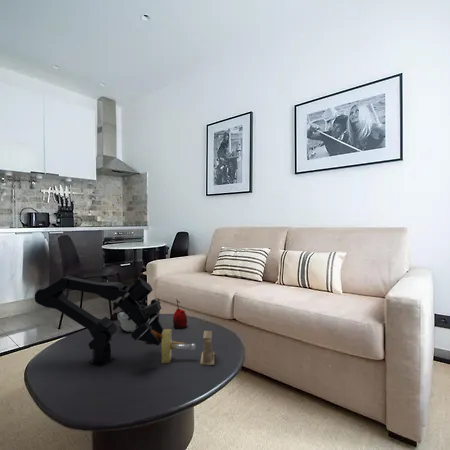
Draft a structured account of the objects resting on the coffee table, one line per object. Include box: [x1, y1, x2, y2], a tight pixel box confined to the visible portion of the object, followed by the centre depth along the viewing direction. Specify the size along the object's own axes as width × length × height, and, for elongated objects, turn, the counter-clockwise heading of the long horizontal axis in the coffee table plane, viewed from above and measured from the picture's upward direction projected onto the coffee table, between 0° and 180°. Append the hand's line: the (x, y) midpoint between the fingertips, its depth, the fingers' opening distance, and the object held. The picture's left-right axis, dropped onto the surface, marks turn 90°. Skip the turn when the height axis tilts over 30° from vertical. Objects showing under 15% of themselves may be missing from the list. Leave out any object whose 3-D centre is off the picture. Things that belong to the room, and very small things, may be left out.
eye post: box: [199, 330, 216, 366], centre depth 105 cm, size 5×9×10 cm, turn 1°
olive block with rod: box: [161, 328, 197, 364], centre depth 105 cm, size 13×4×11 cm, turn 91°
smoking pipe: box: [147, 330, 186, 344], centre depth 121 cm, size 7×18×6 cm, turn 76°
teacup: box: [116, 311, 136, 333], centre depth 137 cm, size 14×11×8 cm
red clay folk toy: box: [172, 298, 188, 329], centre depth 139 cm, size 8×7×15 cm
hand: (161, 339), depth 105 cm, fingers open, 9 cm apart
